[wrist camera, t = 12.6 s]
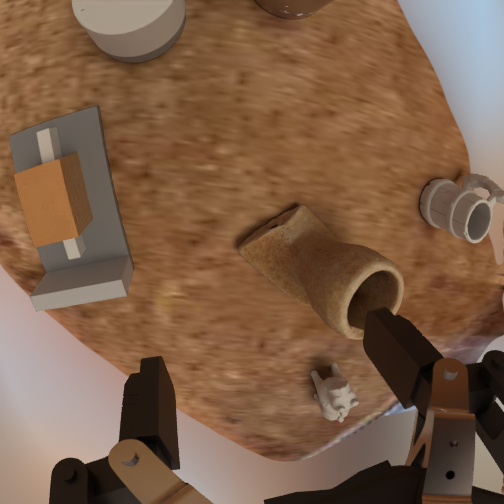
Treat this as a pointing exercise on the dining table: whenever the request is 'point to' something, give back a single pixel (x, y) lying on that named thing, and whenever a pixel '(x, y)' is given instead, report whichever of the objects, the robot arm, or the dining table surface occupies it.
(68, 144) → the rail plate
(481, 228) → the mug
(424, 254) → the dining table surface
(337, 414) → the dog figurine
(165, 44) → the smart speaker
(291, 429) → the dining table surface
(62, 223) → the block
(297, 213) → the brown boot
